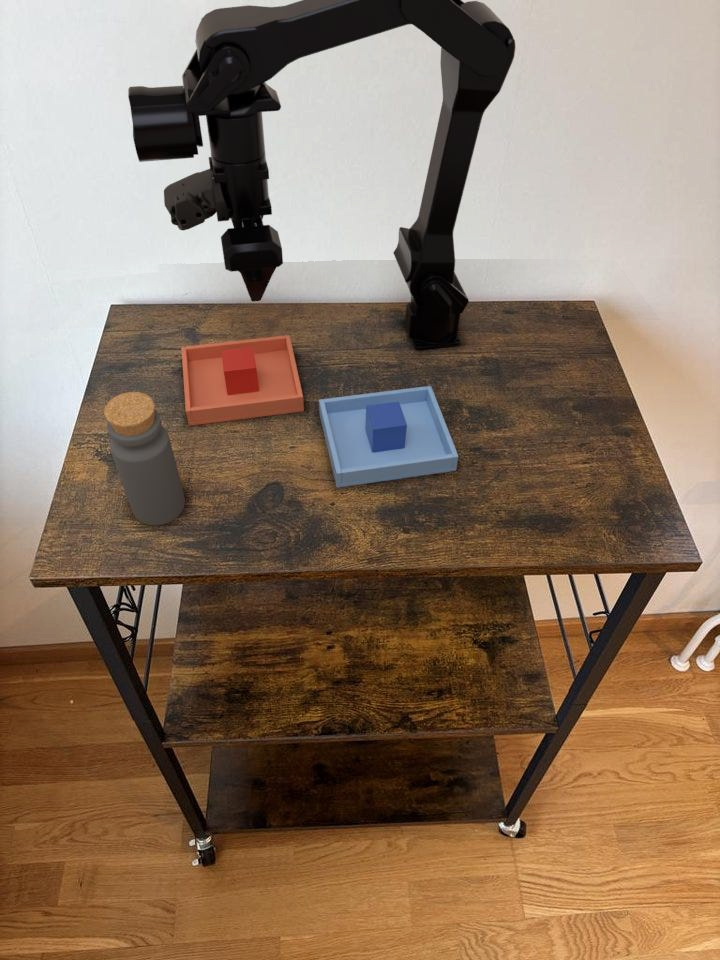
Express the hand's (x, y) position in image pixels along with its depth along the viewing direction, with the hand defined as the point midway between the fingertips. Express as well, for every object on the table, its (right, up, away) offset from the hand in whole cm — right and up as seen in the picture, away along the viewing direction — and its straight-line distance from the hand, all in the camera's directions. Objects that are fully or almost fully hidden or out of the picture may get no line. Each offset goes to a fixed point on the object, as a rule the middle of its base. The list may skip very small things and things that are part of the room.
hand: (251, 278), depth 89 cm
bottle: (-9, -28, -8) cm, 30 cm away
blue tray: (+16, -20, -1) cm, 26 cm away
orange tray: (-2, -13, +5) cm, 14 cm away
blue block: (+16, -20, -1) cm, 26 cm away
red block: (-2, -12, +4) cm, 13 cm away
